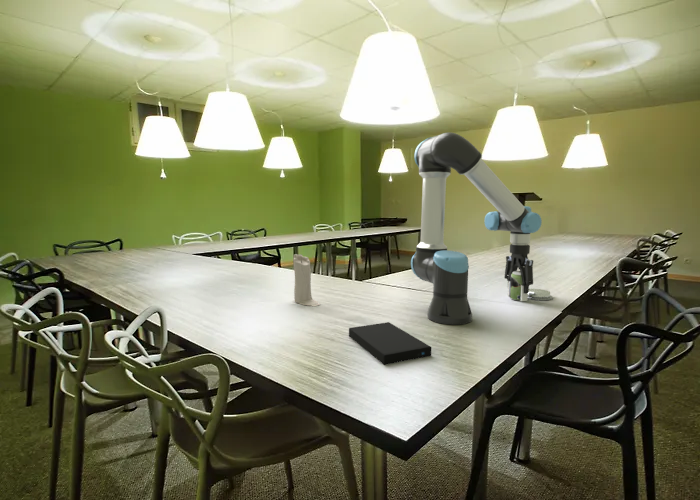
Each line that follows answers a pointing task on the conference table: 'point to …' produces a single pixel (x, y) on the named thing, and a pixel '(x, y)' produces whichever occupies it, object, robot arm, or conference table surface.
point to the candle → (303, 281)
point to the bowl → (539, 295)
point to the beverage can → (515, 285)
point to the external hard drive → (389, 343)
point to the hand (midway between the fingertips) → (517, 298)
